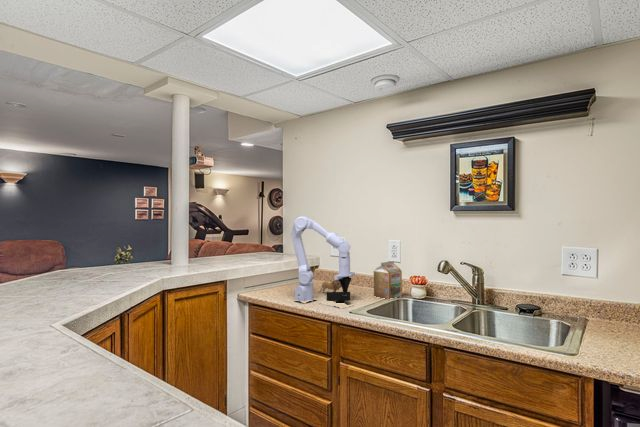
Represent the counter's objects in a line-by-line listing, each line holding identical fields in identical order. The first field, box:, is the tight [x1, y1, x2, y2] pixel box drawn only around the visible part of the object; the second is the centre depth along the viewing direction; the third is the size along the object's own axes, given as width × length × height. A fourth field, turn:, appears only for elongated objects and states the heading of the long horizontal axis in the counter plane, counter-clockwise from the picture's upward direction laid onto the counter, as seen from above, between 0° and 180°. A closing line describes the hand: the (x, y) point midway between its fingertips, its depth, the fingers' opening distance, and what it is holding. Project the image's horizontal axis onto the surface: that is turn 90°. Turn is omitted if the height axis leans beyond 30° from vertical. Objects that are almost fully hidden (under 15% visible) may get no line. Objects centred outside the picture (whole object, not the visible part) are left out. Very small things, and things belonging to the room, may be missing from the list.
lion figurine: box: [318, 280, 342, 294], centre depth 212 cm, size 15×5×9 cm, turn 69°
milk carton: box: [373, 260, 403, 300], centre depth 203 cm, size 11×11×19 cm
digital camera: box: [326, 291, 351, 303], centre depth 191 cm, size 10×5×7 cm
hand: (345, 291), depth 193 cm, fingers closed
